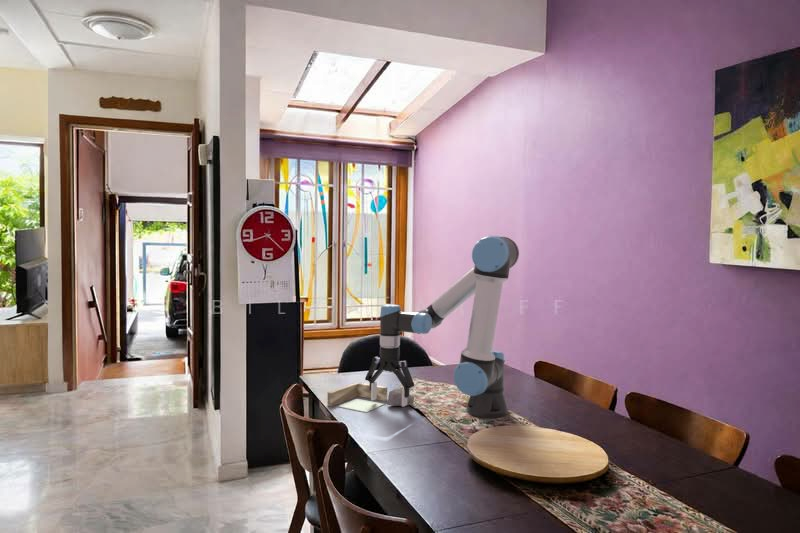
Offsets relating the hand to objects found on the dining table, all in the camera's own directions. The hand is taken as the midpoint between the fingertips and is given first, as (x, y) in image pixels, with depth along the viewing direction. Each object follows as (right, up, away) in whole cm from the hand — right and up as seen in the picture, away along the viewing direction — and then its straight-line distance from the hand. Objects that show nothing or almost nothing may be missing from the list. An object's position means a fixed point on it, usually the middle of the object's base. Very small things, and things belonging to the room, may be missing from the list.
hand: (388, 402), depth 197 cm
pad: (-10, -2, +2) cm, 11 cm away
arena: (-12, -1, +6) cm, 13 cm away
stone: (0, -2, 0) cm, 2 cm away
